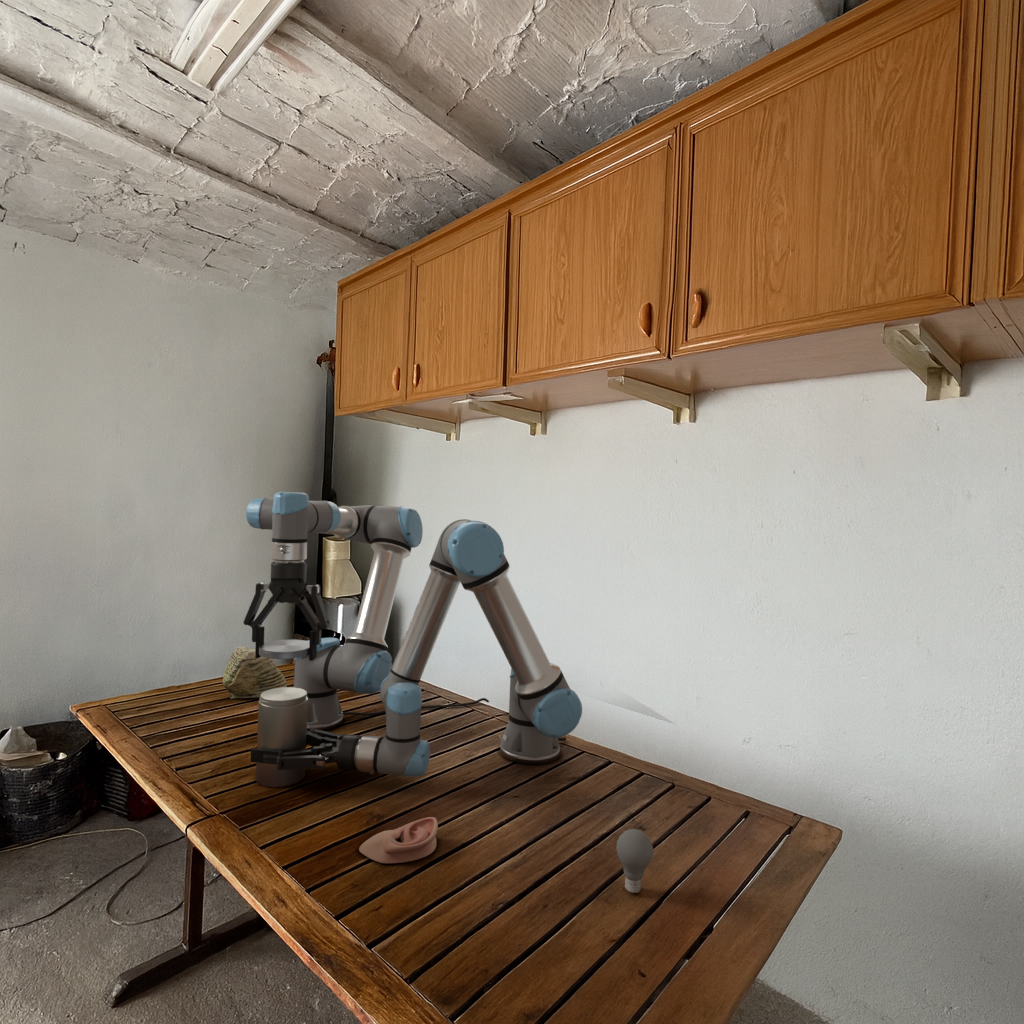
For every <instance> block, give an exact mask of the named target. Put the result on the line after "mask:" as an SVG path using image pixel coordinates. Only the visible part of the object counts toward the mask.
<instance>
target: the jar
mask: <svg viewBox="0 0 1024 1024" xmlns="http://www.w3.org/2000/svg"><path fill="white" fill-rule="evenodd" d="M306 695H307V691H305V690H303V689H300V688H294V686H293V687H292V686H287V687H282V688H274V689H270V690H267V691H264V692H263V693H261V695H260V697H259V700H258V709H257V710H258V711H257V732H256V733H257V734H256V749H267V750H282V753H285V752H293V751H301V750H307V746H306V733H307V707H308V697H307V696H306ZM255 765H256V766H255V782H256V783H257V784H258V785H260V786H263V787H267V788H283V787H288V786H291V785H294V784H297V783H299V782H301V781H302V780H303V779H304V778H305V776H306V769H296V770H277V764H268V763H257V762H255Z"/></svg>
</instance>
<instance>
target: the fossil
mask: <svg viewBox="0 0 1024 1024" xmlns="http://www.w3.org/2000/svg"><path fill="white" fill-rule="evenodd" d="M222 676H223V677H222V685H223V687H224V688H225V690H226V691H228V693H229V698H230V699H250V698H260V695H261V693H263V692H264V691H267V690H270V689H274V688H282V687H288V686H287V680H286V678H285V676H284V674H283V673H282V672H281V669H279V668H278V667H277V665H276V663H275V662H274V659H270V658H265V657H262V656H261V657H260V658H255V648H251V647H247V646H246V647H245V646H238V647H237V648H236V649H235V650H233V651H232V653H231V656H230V657H229V659H228V660H227V663H226V666H225V668H224V671H223V675H222Z"/></svg>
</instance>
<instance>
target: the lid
mask: <svg viewBox="0 0 1024 1024" xmlns="http://www.w3.org/2000/svg"><path fill="white" fill-rule="evenodd" d="M309 643H310V642H308V640H305V639H304V640H303V639H276V640H271V641H267V642H264V643H263V644H261V645H260V646H259V655H260V656H262V657H265V658H270V659H272V660H290V659H291V660H293V659H294V658H300V657H304V656H307V655H309Z"/></svg>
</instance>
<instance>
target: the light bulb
mask: <svg viewBox="0 0 1024 1024" xmlns="http://www.w3.org/2000/svg"><path fill="white" fill-rule="evenodd" d="M615 849H616V854H617V857H618V859H619V861H620V863H621V865H622V867H623V873H624V874H623V875H624V876H625V878H624V888H625V890H627V891H628V892H630V893H634V894H635V893H639V892H640V891H641V889H642V887H641V886H642V879H643V877H644V875H645V871H646V868H647V867H648V866H649V864H650V863H651V861H652V859H653V855H654V847H653V843H652V841H651V838H649V836H648V835H647V834H646V833H645V832H643V831H642V830H641V829H636V828H629V829H627V830H625V831H623V832H622V833H621V834H620V835H619V837H618V839H617V841H616V847H615Z"/></svg>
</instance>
